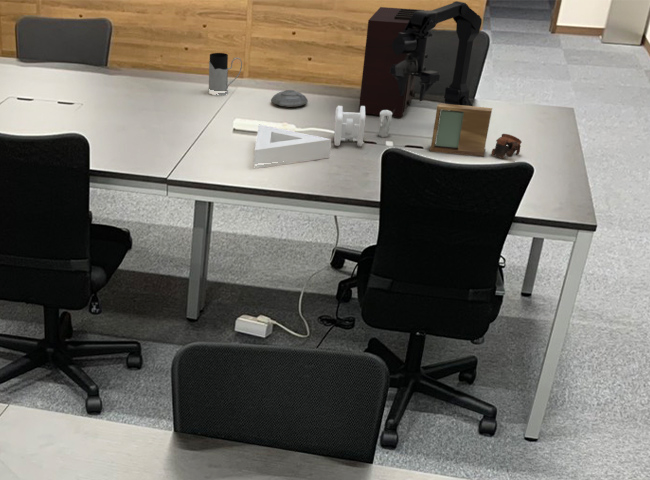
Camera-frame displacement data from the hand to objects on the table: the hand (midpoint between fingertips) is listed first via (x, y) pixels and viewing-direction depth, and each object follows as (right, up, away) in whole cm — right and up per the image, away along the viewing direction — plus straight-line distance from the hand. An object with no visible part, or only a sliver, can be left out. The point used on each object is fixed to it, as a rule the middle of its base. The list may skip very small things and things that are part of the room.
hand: (411, 98), depth 350 cm
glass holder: (-64, +27, +61) cm, 93 cm away
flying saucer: (-39, +17, +47) cm, 63 cm away
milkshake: (-7, -9, +13) cm, 17 cm away
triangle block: (-49, -20, -2) cm, 54 cm away
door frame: (+16, -20, -2) cm, 26 cm away
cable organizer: (-22, -14, +7) cm, 27 cm away
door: (+14, -16, 0) cm, 21 cm away
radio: (+1, +14, +43) cm, 45 cm away
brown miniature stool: (+32, -23, -5) cm, 40 cm away
